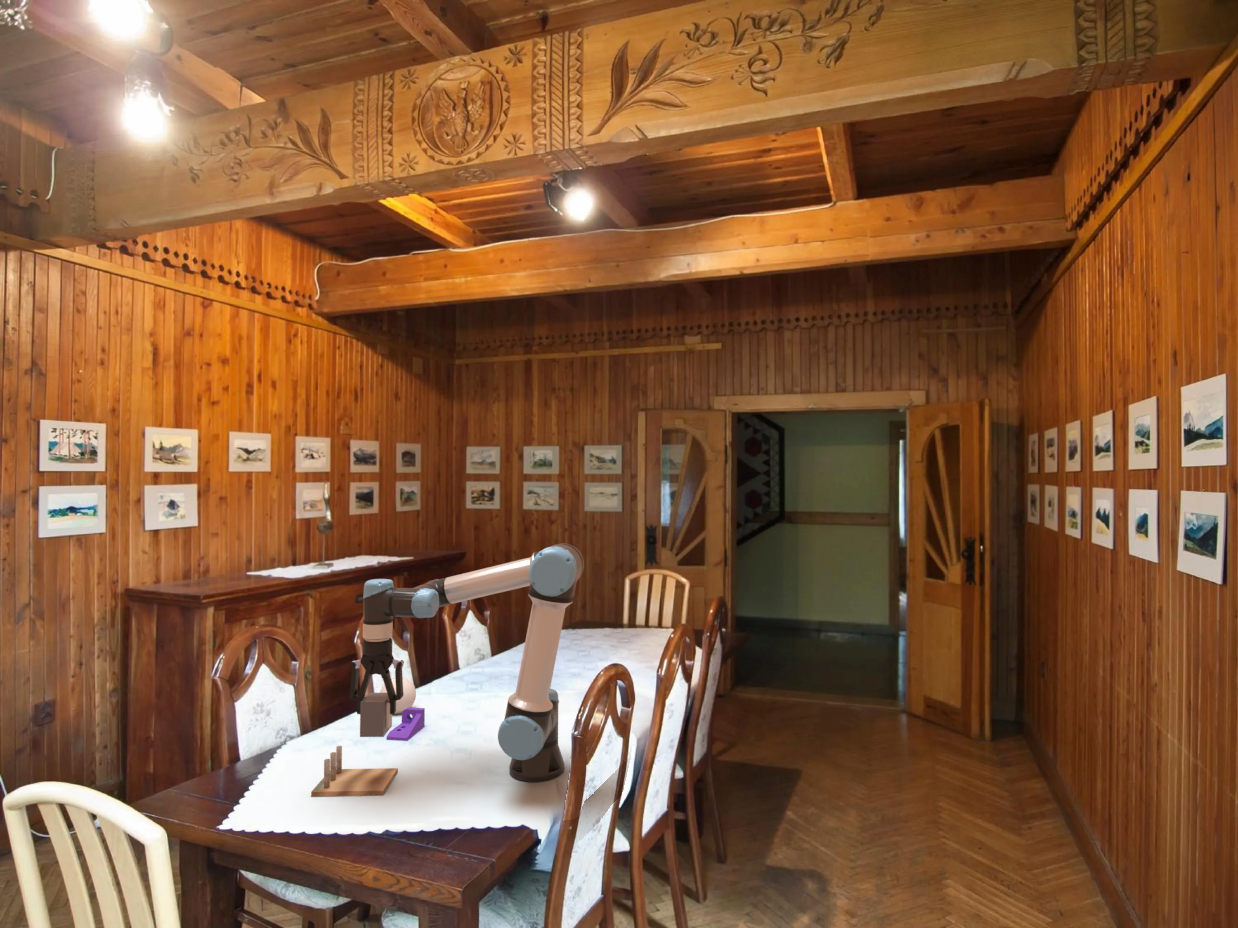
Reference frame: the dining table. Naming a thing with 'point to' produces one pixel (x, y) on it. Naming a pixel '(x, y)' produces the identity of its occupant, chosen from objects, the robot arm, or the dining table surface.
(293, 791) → the dining table surface
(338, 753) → the board
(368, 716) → the block
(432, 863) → the dining table surface
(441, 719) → the dining table surface
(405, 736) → the bracket
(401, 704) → the decorative ball
